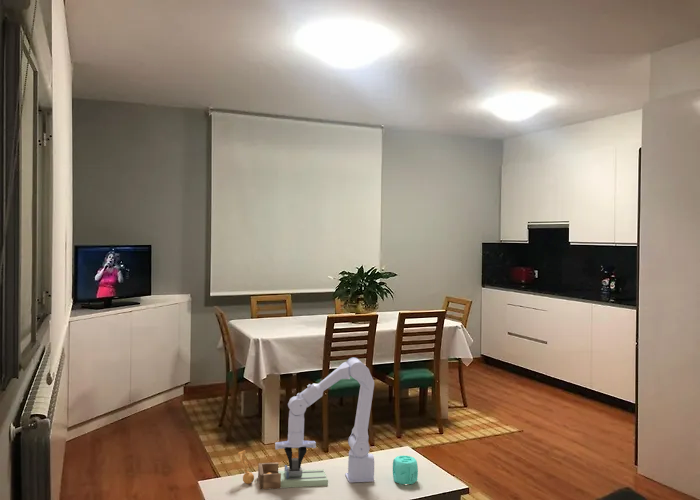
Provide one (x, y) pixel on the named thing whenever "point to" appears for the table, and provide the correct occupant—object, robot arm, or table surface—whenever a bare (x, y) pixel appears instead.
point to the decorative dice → (405, 470)
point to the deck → (305, 479)
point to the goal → (269, 476)
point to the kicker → (293, 469)
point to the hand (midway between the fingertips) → (294, 467)
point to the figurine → (248, 476)
